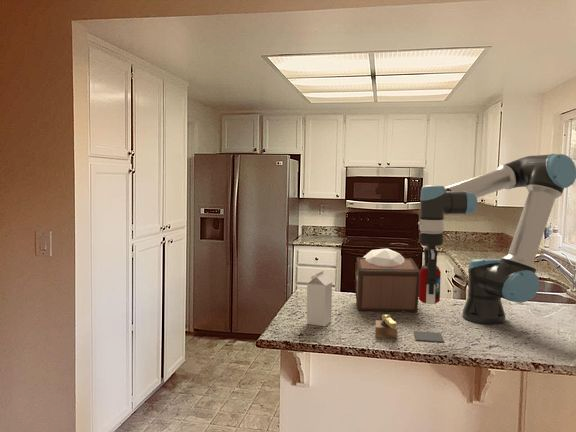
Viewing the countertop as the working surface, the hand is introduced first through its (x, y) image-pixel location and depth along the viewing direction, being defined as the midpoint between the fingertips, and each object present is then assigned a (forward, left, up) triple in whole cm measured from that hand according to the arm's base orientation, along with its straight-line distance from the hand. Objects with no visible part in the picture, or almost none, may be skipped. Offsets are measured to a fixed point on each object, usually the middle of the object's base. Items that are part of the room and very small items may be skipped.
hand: (429, 300), depth 155 cm
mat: (0, 0, -13) cm, 13 cm away
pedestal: (+14, 0, -13) cm, 19 cm away
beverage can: (0, 0, -1) cm, 1 cm away
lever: (+13, +3, -8) cm, 16 cm away
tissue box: (+14, -40, -13) cm, 44 cm away
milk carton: (+38, -8, -13) cm, 41 cm away
